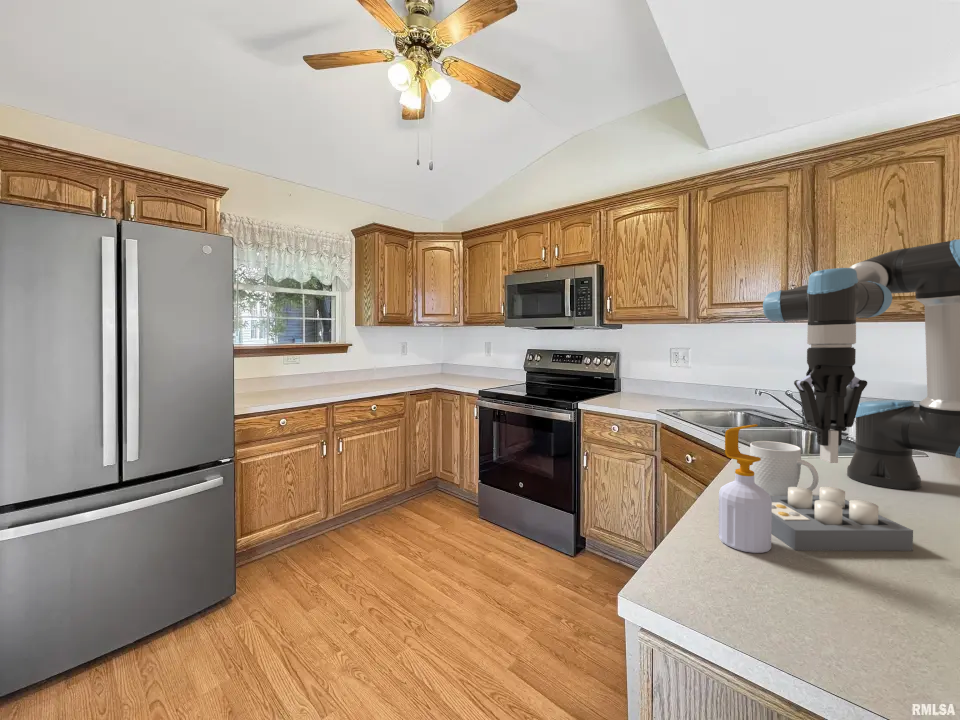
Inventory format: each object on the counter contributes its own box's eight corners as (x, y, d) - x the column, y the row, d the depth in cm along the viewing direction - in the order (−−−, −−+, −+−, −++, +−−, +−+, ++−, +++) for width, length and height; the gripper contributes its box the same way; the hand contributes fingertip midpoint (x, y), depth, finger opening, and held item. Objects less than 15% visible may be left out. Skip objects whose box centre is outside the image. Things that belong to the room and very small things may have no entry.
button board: (836, 512, 98) (836, 494, 97) (912, 550, 80) (913, 528, 79) (741, 512, 99) (741, 494, 98) (795, 550, 81) (795, 528, 81)
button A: (834, 505, 95) (834, 486, 95) (850, 513, 90) (850, 493, 90) (814, 505, 95) (814, 486, 95) (829, 513, 91) (829, 493, 90)
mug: (825, 500, 105) (826, 449, 104) (809, 510, 99) (809, 457, 98) (760, 484, 117) (760, 438, 117) (742, 492, 111) (742, 444, 111)
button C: (802, 505, 95) (802, 486, 95) (817, 513, 91) (817, 493, 91) (783, 505, 95) (783, 486, 95) (796, 513, 91) (797, 493, 91)
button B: (864, 520, 87) (865, 499, 87) (884, 530, 82) (884, 508, 82) (843, 520, 87) (843, 499, 87) (861, 530, 83) (861, 508, 82)
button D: (830, 520, 87) (830, 500, 87) (848, 530, 83) (848, 508, 83) (809, 520, 87) (809, 500, 87) (825, 530, 83) (825, 508, 83)
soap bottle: (755, 558, 78) (755, 430, 77) (709, 538, 86) (709, 422, 85) (781, 547, 82) (782, 425, 81) (734, 529, 90) (735, 418, 89)
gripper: (848, 345, 87) (846, 455, 88) (784, 346, 88) (783, 456, 89) (881, 345, 79) (878, 466, 80) (811, 347, 80) (809, 466, 81)
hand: (828, 460), depth 85 cm, fingers closed
